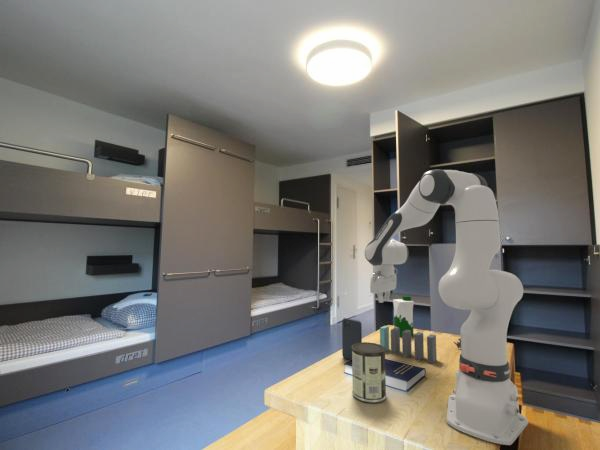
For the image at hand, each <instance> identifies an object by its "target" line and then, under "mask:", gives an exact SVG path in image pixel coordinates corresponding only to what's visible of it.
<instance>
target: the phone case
mask: <svg viewBox="0 0 600 450" xmlns="http://www.w3.org/2000/svg"><path fill="white" fill-rule="evenodd" d="M341 322H342V323H341V324H342V325H341V326H342V327H341V328H342V329H341V331H342V335H341V337H342V339H341V340H342V341H341V342H342V343H341V345H342V349H341V350H342V351H341V353H342V357H343V359H345V360H349V361H351V360H352V345H353V344H356V343H361V342H362V341H363V339H362V335H363V333H362V328H363V327H362V322H361V321H360V320H356V319H352V318H347V317H345V318H343V319H342V320H341Z"/></svg>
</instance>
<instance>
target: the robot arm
mask: <svg viewBox="0 0 600 450" xmlns="http://www.w3.org/2000/svg"><path fill="white" fill-rule="evenodd" d="M488 186H489V185H488V182H487V181H486V179H485V178H484V177H483V176H482V175H479V174H477V173H473V172H470V173H469V172H465V171H459V170H457V169H454V170H453V169H440V168H438V169H437V168H436V169H431V170H428V171H425V172H424V173H423V175H422V176H421V178H420V180H419V181H418V182H417V184H416V185H415V186H414V187H413V189H412V191H411V192H410V194H409V195H408V197H407V199H406V201H405V202H404V204H403V205H402V206H401V207H400V208H399V209H397V210H396V211H395V212H393V213H391V214H390V216H389V217H388V218H387V219H386V220H385V222H384V224H383V225H382V226H381V228H380V229H379V231H378V232H377V234H376V235H375V236H374V238H373V239H372V240H371V241H370V242H368V244H367V245H366V247H365V250H364V258H365V259H366V261H367V262H368V263H369V264H370V265H371V266H373V273H372V276H370V283H369V284H370V285H369V291H370V294H376V296H377V298H378V303H381V304H383V303H384V302H389V301H390V295H391V291H395V290H396V288H397V274H398V269H397V268H395V266H394V265H402V264H405V263H406V262H407V261H408V259H409V257H410V256H409V253H410V252H409V248H408V246H407V245H406V244H405V243H404V242H400V241H398V240H396V239H395V238H394V237H395V235H397V234H399V233H400V232H403V231H405V230H408V229H413V228H418V227H422V226H425V225H427V224H428V223H429V222H430V221H431V220H433V218H434V216H435V214H436V213H437V211H438V209H439V208H440V205H445V204H446V205H451V206H452V207H453V209H454V215H455V216H454V217H455V218H454V219H455V222H454V223H455V252H454V253H455V254H454V256H453V260H452V262H451V265H450V267H449V269H448V270H447V271H446V272H445V273H444V275H442V276H441V278H440V280H439V281H438V294H439V296H440V298H441V300H442V302H443V303H444V304H445V305H446V306H447V307H450V308H453V309H456V310H457V309H459V310H464V311H470V314H469V316H468V318H467V319H466V320H465V321H464V322H463V323H462V325H461V327H460V330H459V331H460V338H461V348H460V353H459V358H458V359H459V360H458V363H459V365H458V366H459V367H458V370H457V371H455V382H456V385H455V388H453V389H452V394H450V395H448V399H447V409H446V424H448V425H449V426H451V427H452V428H454V429H456V430H458V431H460V432H463V433H464V434H467V435H470V436H473V437H475V438H478V439H481V440H484V441H486V442H490V443H494V444H499V445H503V446H504V445H505V446H512V444H513V443H514V442H515V441H516V440H517V438H519V436H520V435H521V433H522V432H523V431H524V430H525V428H526V427H527V426H528V425H529V419H528V418H527V417H526V416H525V415H523V414H521V413H520V406H519V405H520V404H519V395H518V388H517V387H518V386H517V385H515V384H514V383H513V381H511V379H510V377H511V367H510V363H509V361H508V351H507V348H508V347H507V345H508V344H507V342H508V341H507V335H508V328H509V322H510V320H511V317H512V315H513V311H514V309H515V307H516V306H517V304H518V302H520V301H521V299H522V298H523V295H524V286H523V284H522V281H521V280H520V278H519V277H517V275H516V274H514V273H511V272H508V271H504V270H500V269H490V267H491V263H492V260H493V259H494V257H495V256H496V254H498V253H499V252H500V250H501V247H502V246H501V245H502V244H501V233H500V232H501V230H500V217H499V211H498V205H497V201H496V198H495V195H494V194H495V193H494V192H493V190H492V189H491V188H490V187H488ZM383 295H384V297H383Z"/></svg>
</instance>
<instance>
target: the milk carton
mask: <svg viewBox="0 0 600 450" xmlns="http://www.w3.org/2000/svg"><path fill="white" fill-rule="evenodd" d="M392 304H393V325H394V326H393V328H400V338H402V332H403V331H405V330H411V338H412V337H413V338H414V334H415V333H414V316H413V315H414V314H413V313H414V312H413V311H414V300H412V298H411V296H410V295H402V298H397V299H392Z"/></svg>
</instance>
